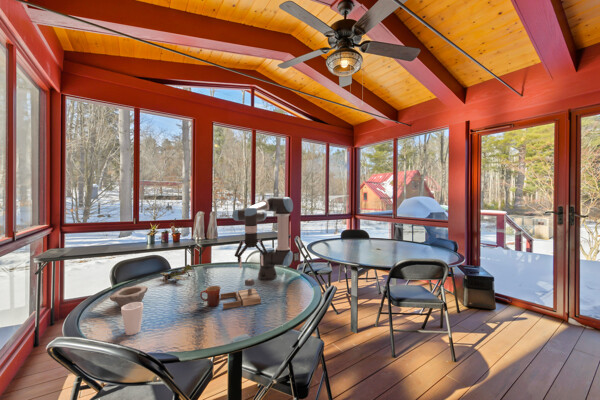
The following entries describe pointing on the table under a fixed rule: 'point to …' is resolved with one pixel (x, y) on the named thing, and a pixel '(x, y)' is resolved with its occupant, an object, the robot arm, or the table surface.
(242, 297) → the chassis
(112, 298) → the mortar
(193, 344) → the table surface
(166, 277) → the toy airplane
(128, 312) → the foam cup
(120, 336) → the table surface
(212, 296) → the mug
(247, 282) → the wheel
